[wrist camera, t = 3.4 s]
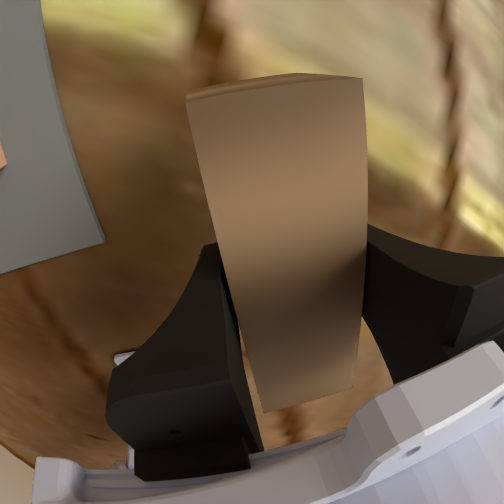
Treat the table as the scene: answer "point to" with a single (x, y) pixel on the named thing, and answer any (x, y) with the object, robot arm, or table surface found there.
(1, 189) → the slate mat
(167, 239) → the table surface
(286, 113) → the brown wooden block
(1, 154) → the tile
